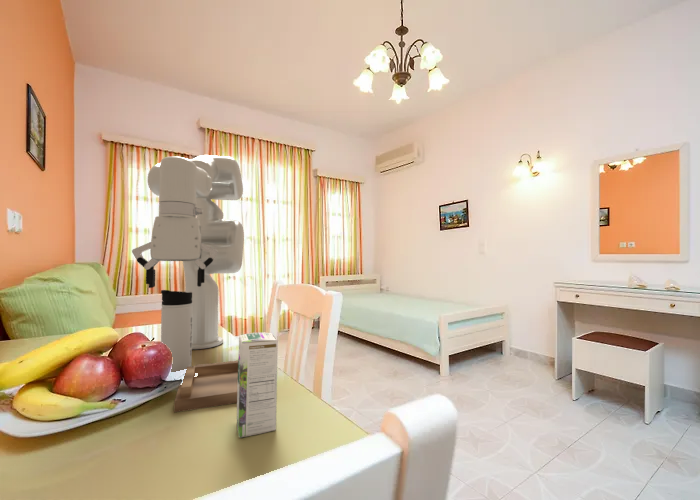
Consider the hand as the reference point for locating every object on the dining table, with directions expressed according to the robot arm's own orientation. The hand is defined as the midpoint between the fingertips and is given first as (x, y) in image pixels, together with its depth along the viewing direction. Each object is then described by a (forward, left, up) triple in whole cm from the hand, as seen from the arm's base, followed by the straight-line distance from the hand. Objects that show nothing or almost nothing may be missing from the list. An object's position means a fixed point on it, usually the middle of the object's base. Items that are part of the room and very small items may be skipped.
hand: (176, 286), depth 74 cm
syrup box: (+28, +15, -21) cm, 38 cm away
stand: (+11, +9, -21) cm, 25 cm away
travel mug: (-1, 0, -21) cm, 21 cm away
